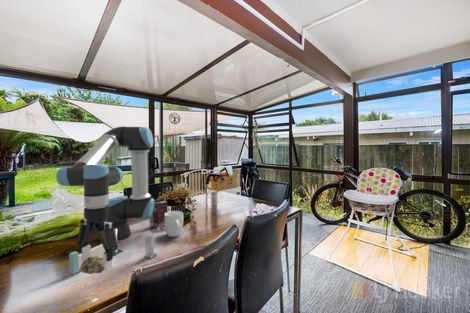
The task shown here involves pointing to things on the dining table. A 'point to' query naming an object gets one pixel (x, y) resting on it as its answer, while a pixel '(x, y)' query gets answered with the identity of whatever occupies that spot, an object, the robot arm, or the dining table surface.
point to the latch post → (150, 247)
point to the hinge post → (116, 241)
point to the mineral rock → (92, 265)
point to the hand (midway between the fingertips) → (96, 266)
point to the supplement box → (159, 213)
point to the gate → (76, 259)
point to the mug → (173, 223)
